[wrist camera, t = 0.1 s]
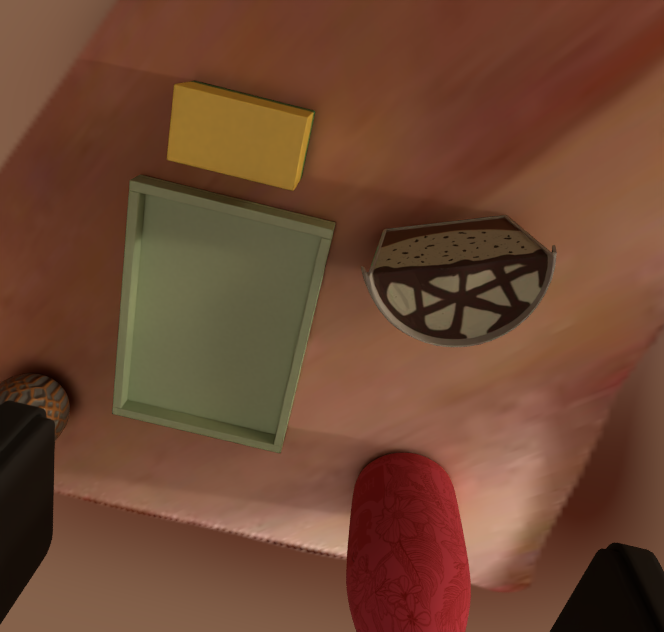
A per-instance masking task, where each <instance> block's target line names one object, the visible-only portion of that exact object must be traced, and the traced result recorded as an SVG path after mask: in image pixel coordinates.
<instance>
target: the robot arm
mask: <svg viewBox="0 0 664 632" xmlns="http://www.w3.org/2000/svg"><path fill="white" fill-rule="evenodd" d="M54 449H55V423H54V421H53V420H51V419H47V416H46V412H45V410H44V409H43V408H40V407H36V406H32V405H27V404H23V403H19V402H15V401H10V400H9V401H5V402H4V403H2V404H1V405H0V624H1V623H2V621H3V619H4V618H5V617H6V615H7V613H8V612H9V610H10V609H11V607H12V606H13V604H14V603H15V601H16V600H17V598H18V597H19V595H20V594H21V592H22V591H23V589H24V587H25V586H26V585H27V583H28V582H29V580H30V579H31V577H32V576H33V574H34V573H35V571H36V570H37V568H38V567H39V565H40V564H41V562H42V561H43V559H44V557H45V556H46V554H47V552H48V550H49V547H50V544H51V540H52V534H53V493H54ZM550 632H664V571H663V569H662V567H661V565H660V563H659V562H658V560H657V558H656V557H655V555H654V554H653V553H652V552H650V551H649V550H646V549H641V548H638V547H633V546H629V545H625V544H620V543H612V544H610V545H609V546H608V547H607V548H606V549H600V550H598V552H597V553H596V554H595V556H594V558H593V559H592V561H591V563H590V564H589V566H588V568H587V570H586V571H585V573H584V575H583V576H582V578H581V580H580V581H579V583H578V585H577V586H576V588H575V590H574V591H573V593H572V595H571V597H570V598H569V600H568V602H567V603H566V605H565V607H564V609H563V610H562V612H561V613H560V615H559V617H558V619H557V620H556V622H555V624H554V625H553V627H552V629H551V630H550Z"/></svg>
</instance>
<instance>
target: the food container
mask: <svg viewBox="0 0 664 632" xmlns="http://www.w3.org/2000/svg"><path fill="white" fill-rule="evenodd" d="M556 254H557V253H556V247H555V245H552V252H550V251H549V250H548V249H547V248H545V247H544V246H543V245H542V244H541V243H539V242H538V241H537V240H536V239H535V238H534V237H532V236H531V235H530V234H529V233H528V232H526V231H525V230H524V229H523V228H522V227H520V226H519V225H518V224H517V223H516V222H514V221H513V220H512V219H511V218H510V217H508V216H507V215H502V216H493V217H485V218H476V219H467V220H459V221H450V222H442V223H433V224H425V225H416V226H408V227H399V228H390V229H384V230H383V232H382V235H381V238H380V241H379V244H378V247H377V250H376V252H375V255H374V258H373V261H372V264H371V267H370V270H369V272H366V270H365V268H364V266H361V269H362V274H363V278H364V281H365V284H366V286H367V289H368V291H369V293H370V295H371V297H372V299H373V301H374V302H375V304H376V306H377V307H378V309H379V310H380V312H381V313H382V314H383V315H384V316H385V318H386V319H387V320H388V321H389V322H391V323H392V324H393V325H394V326H395V327H396V328H398V329H399V330H401V331H402V332H404V333H405V334H407V335H409V336H411V337H413V338H415V339H418V340H420V341H422V342H425V343H429V344H433V345H437V346H445V347H467V346H473V345H479V344H482V343H486V342H489V341H492V340H494V339H496V338H499V337H501V336H503V335H505V334H507V333H508V332H510V331H511V330H513V329H514V328H516V327H517V326H518V325H520V324H521V323H522V322H523V321H524V320H526V319H527V318H528V317H529V315H530V314H531V313H532V312H533V311H534V310H535V309H536V308H537V306H538V305H539V303H540V301H541V300H542V298H543V297H544V295H545V293H546V291H547V289H548V287H549V284H550V282H551V280H552V276H553V272H554V269H555V263H556Z"/></svg>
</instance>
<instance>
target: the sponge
mask: <svg viewBox="0 0 664 632" xmlns="http://www.w3.org/2000/svg"><path fill="white" fill-rule="evenodd" d="M314 115H315V111H314V110H310V109H306V108H302V107H298V106H294V105H290V104H286V103H282V102H278V101H274V100H270V99H266V98H262V97H258V96H254V95H250V94H246V93H242V92H238V91H234V90H230V89H226V88H222V87H218V86H214V85H210V84H206V83H202V82H198V81H190V82H184V83H179V84H175V85H174V91H173V101H172V111H171V121H170V131H169V140H168V150H167V160H169V161H173V162H177V163H182V164H186V165H190V166H194V167H198V168H202V169H206V170H210V171H214V172H218V173H222V174H226V175H230V176H234V177H238V178H242V179H246V180H250V181H254V182H258V183H263V184H267V185H271V186H275V187H279V188H283V189H287V190H291V191H294V189H295V188H296V186H297V184H298V183H299V181H300V179H301V178H302V174H303V169H304V164H305V159H306V154H307V149H308V144H309V140H310V135H311V130H312V125H313V120H314Z"/></svg>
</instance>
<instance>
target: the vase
mask: <svg viewBox="0 0 664 632" xmlns="http://www.w3.org/2000/svg"><path fill="white" fill-rule="evenodd" d="M9 400H10V401H15V402H19V403H23V404H27V405H32V406H36V407H40V408H43V409H44V410H45V412H46V416H47V419H51V420H53V421H54V423H55V440H56V439H57V438H58V437H59V436H60V434H61V433H62V431H63V430H64V428H65V426H66V423H67V421H68V417H69V412H70V404H69V399H68V396H67V394H66V392H65V390H64V389H63V388H62V386H61V385H60V384H59V383H58V382H56V381H55V380H53V379H52V378H50V377H47V376H45V375H41V374H35V373H26V374H20V375H17V376H14V377H11V378H9V379H7V380H5V381H3V382H1V383H0V405H1V404H2V403H4V402H5V401H9Z"/></svg>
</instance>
